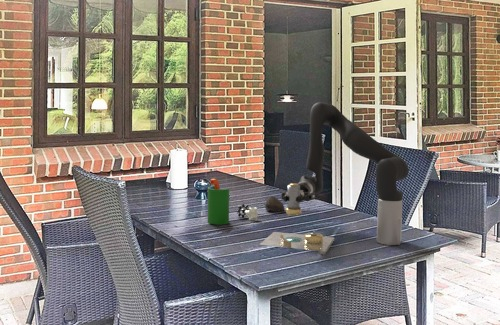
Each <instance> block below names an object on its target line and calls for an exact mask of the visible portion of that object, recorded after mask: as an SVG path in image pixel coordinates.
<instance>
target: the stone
mask: <svg viewBox="0 0 500 325" xmlns="http://www.w3.org/2000/svg"><path fill="white" fill-rule="evenodd" d="M264 207H265V210H266V211H267V212H278V211H281V212H284V211H286V207H285V206H284V204H283V202H282V201H281V200H280V199H279V198H277V197H276V196H274V195H271V196H269V197H267V199H266V200H265V206H264Z"/></svg>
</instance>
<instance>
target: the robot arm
mask: <svg viewBox="0 0 500 325" xmlns="http://www.w3.org/2000/svg"><path fill="white" fill-rule="evenodd" d="M309 114H310V115H309V145H308V146H309V148H308V154H307V160H306V164H305V166H306V170H308V171H309V172H312V173H314V175H315V176H312V175H307V174H305V175H302V176H301V177H300V179H299V182H297V184H298V185H300V196H299V197H298V203H300V204H301V203H304V202H309V201H312V200H315V194H320V193H322V191H323V188H324V179H323V165H324V161H325V160H324V159H325V146H324V142H323V138H322V137H323V135H322V134H323V133H322V131H323V126H325V125H326V126H328V127H329V128H332V129H333V130H334V131H336V132H337V133H338V135H339V137H340V139H341V141H342V142H343V144H344V145H345V147H347V148H348V149H350V150H351V151H352V152H353V153H355V154H356V155H358V156H360V157H363V158H364V159H368V160H370V161H373V162H375V163H376V164H377V166H376V168H375V183H376V184H375V185H376V186H375V188H376V189H375V190H376V192H377V212H376V213H377V216H376V218H377V220H376V242H377V243H378V244H380V245H381V244H382V245H387V246H396V245H398V246H401V243H402V228H403V196H404V195H403V192H402V191H401V190H398V187H397V182H398V181H402V180H404V179H406V178H407V177H408V175H409V166H408V164H407V162H406V161H405V160H404V159H403V158H402V157H401V156H398V155H397V154H395V153H393V152H392V151H390V150H389V149H387V148H386V147H385V146H383V145H382V144H380V143H379V142H378V141H377V140H375V138H373V137H372V136H370V134H368V133H367V132H366V131H364V130H363V129H362V128H360V127H359V126H358V125H357V124H355V123H354V122H352V121H351V120H350V119H349V118H347V117H346V116H345V115H344V114H343V113H342V112H341V111H340V110H339V109H338V108H337V107H336V106H335V105H333V104H331V103H326V102H316V103H314V104H313V105H312V107H311V109H310V113H309ZM281 200H282V201H284V202H285V203H286V202H287V191H285V190H281Z"/></svg>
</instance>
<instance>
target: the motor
mask: <svg viewBox="0 0 500 325" xmlns="http://www.w3.org/2000/svg"><path fill="white" fill-rule="evenodd" d="M210 185H212V186H208V187H207V223H208V224H210V225H216V226H218V225H227V224H230V188H224V189H221V188H220V183H219V180H218V179H217V178H211V179H210Z"/></svg>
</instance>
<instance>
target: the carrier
mask: <svg viewBox="0 0 500 325" xmlns="http://www.w3.org/2000/svg"><path fill="white" fill-rule="evenodd" d="M333 241H335V237H331V236H324V235H323V234H322V233H320V232H315V231H314V232H307V233H304V234H301V233H299V234H297V233H290V232H289V233H288V232H278V231H273V232H272V233H271V234H270V235H268V237H266V238H264V239H263V241H262V242H260V243H259V246H267V247H268V246H269V247H276V248H277V247H278V248H285V249H286V248H288V249H296V250H305V251H307V250H308V251H315V252H316V251H318V252H317V255H326V253H327V252H328V250H329V249H330V247H331V246H332V245H333V243H334V242H333Z"/></svg>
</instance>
